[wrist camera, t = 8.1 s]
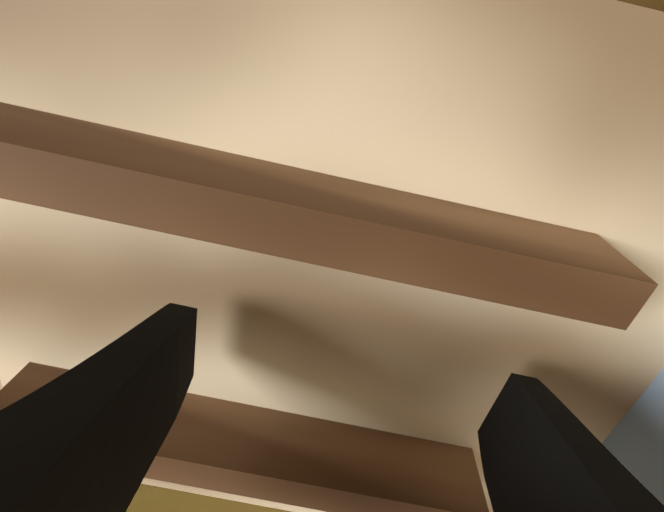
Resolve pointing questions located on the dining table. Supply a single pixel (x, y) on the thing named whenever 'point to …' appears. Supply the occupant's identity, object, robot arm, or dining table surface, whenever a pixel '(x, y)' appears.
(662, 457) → the slate block
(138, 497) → the dining table surface
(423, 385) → the birch deck
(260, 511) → the dining table surface
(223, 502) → the dining table surface
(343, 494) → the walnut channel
